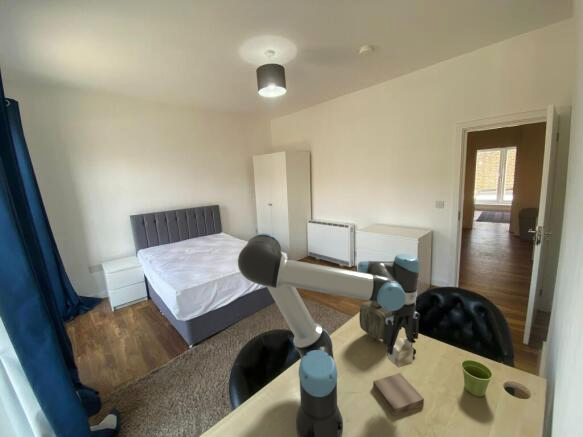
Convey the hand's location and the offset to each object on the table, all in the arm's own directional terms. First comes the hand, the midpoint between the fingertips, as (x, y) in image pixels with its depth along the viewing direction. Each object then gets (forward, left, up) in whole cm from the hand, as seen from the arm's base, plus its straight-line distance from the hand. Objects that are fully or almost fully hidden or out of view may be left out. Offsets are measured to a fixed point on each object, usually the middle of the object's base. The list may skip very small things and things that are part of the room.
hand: (398, 358), depth 90 cm
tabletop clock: (+10, +28, -14) cm, 33 cm away
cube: (0, 0, 0) cm, 0 cm away
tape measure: (+17, +15, -14) cm, 27 cm away
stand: (-1, -1, -14) cm, 14 cm away
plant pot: (+27, -8, -14) cm, 31 cm away
